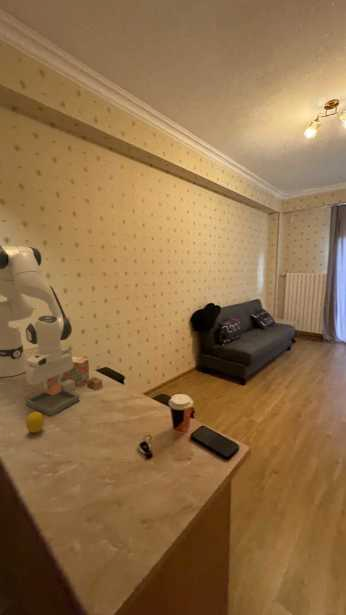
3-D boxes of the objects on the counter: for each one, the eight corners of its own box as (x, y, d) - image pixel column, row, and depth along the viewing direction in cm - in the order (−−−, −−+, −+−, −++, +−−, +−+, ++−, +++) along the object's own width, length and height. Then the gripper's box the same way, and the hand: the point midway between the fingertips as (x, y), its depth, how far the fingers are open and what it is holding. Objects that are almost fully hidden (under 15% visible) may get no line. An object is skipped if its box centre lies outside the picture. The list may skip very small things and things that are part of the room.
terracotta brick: (43, 391, 113) (43, 383, 113) (52, 388, 117) (51, 379, 116) (52, 395, 111) (52, 386, 110) (61, 391, 114) (60, 382, 113)
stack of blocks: (45, 380, 136) (44, 357, 134) (54, 375, 142) (53, 353, 140) (82, 386, 130) (81, 362, 128) (89, 381, 136) (88, 358, 134)
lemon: (48, 429, 97) (46, 409, 95) (35, 439, 92) (33, 417, 90) (36, 426, 98) (34, 406, 97) (23, 435, 93) (21, 414, 92)
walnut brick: (87, 387, 130) (87, 379, 129) (93, 384, 133) (93, 376, 132) (95, 390, 127) (95, 382, 126) (102, 387, 130) (102, 379, 129)
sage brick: (58, 391, 125) (58, 383, 124) (69, 386, 130) (69, 379, 129) (64, 394, 123) (63, 385, 122) (75, 389, 128) (74, 381, 127)
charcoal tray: (26, 405, 112) (26, 400, 112) (55, 391, 124) (55, 386, 124) (51, 416, 105) (50, 410, 104) (79, 401, 117) (79, 395, 116)
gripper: (66, 347, 121) (67, 375, 124) (22, 361, 104) (25, 394, 106) (75, 349, 118) (77, 378, 121) (32, 364, 101) (34, 398, 103)
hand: (52, 386), depth 113 cm, fingers closed on terracotta brick, 4 cm apart
